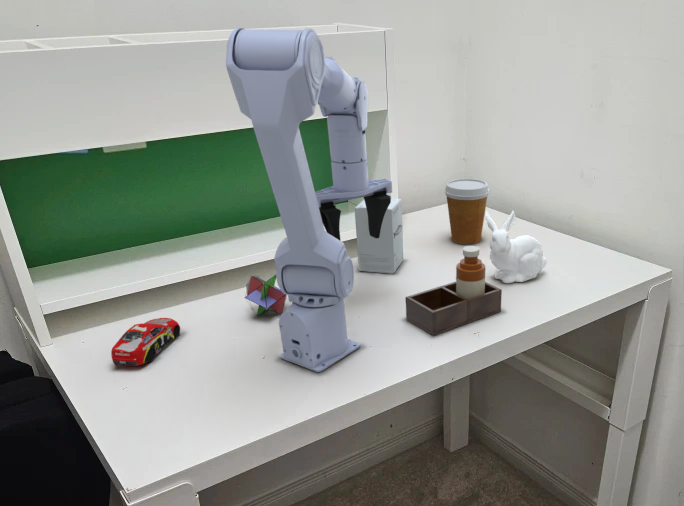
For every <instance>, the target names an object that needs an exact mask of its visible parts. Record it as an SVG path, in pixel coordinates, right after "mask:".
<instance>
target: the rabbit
mask: <svg viewBox="0 0 684 506" xmlns="http://www.w3.org/2000/svg"><path fill="white" fill-rule="evenodd" d="M515 214H516V213H515V211H514V210H512V211H511V213H510V214H509V216H508V217H507V218H506V219H505V221H504V223H503V224H502V227H501V228H500V229H499V228H498V226H497V224H496V222H495V221H494V220H493V218H492V217H491V215H490V212H489V211H485V215H484V219H485V221H486V223H487V224H486V225H487V228H489V229H490V230H491V237H490V240H489V249H490V252H489V259H490V262H491V264H492V265H493V266H494V267H495V268H496V269H498V270H499V271H497V272H496V273H495V275H494V279H495V280H501V282H503V283H504V284H512V283H515V282H517V283H524V282H526V281H530V280H533V279H535V278H536V277H537V275H538V274H539V273H540V272H541V271H543V270H544V269H545V267H546V265H547V260H548V259H547V258H546V257H545V256H544V252H543V247H542V245H541V242H540V241H538V240H537V239H536V238H535V237H533V236H530V235H528V234H527V235H526V234H524V235H519V236H516V237H515V238H512V239H511V238H509V230H511V229H512V228H513V227H514V226H515V225H516V222H517V217H516V215H515Z"/></svg>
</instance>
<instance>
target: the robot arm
mask: <svg viewBox="0 0 684 506" xmlns="http://www.w3.org/2000/svg"><path fill="white" fill-rule="evenodd" d="M225 67H226V71H227V74H228V77H229V80H230V81H229V82H230V84H231V86H232V90H233V93H234V96H235V100H236V101H237V105H238V107H239V111H240V113H241V114H243V115H244V116H246V117H247V118H248V119H250V120H251V124H252V127H253V131H254V135H255V137H256V140H257V144H258V147H259V150H260V154H261V157H262V160H263V163H264V166H265V167H264V168H265V170H266V174H267V176H268V179H269V182H270V186H271V189H272V194H273V196H274V199H275V202H276V205H277V209H278V212H279V215H280V219H281V222H282V225H283V229H284V232H285V235H286V237H284V238H283V240H281V242H280V243H279V244H278V246H277V248H276V250H275V255H274V258H273V261H274V265H275V275H276V283H277V286H278V288H279V289H281V291H282V292H283V293H284V294H286V296H287V299H288V302H291V304H290V305H289V306H288V308H287V309H286V310H285V311H283V312H282V314H280V317H279V320H278V325H279V333H280V339H281V346H282V353H281V354H279V357H280V359H282V360H284V361H287V362H290V363H292V364H295V365H298V366H300V367H303V368H305V369H308V370H311V371H313V372H317V373H320V372H322V371H324V370H326V369H327V368H329V367H330V366H332V365H334V364H336V363H338V362H339V361H341V360H342V359H343V358H345V357H346V356H348V355H349V354H351V353H353V352H354V351H356V350H357V349H359V348H360V347H361V343H360V342H357V341H355V340H351V339H348V332H347V331H348V330H347V320H346V319H347V318H346V309H345V300H344V299H346V298H347V297H348V296H349V295H350V294H351V292H352V290H353V286H354V281H355V280H354V279H355V271H354V262H353V260H352V258H351V257H350V256H349V254H348V252H347V251H348V250H347V248H346V246H345V243H344V242H342V241H341V232H340V231H341V230H340V227H341V226H340V223H341V215H342V214H341V213H342V210H341V209H339V208H337V206H336V205H335V204H336V203H341V202H345V201H351V200H355V199H359V198H363V200H365V204H366V209H367V214H368V226H369V233H370V236H372V237H374V238H376V239H377V238H379V236H380V231H381V226H382V222H383V218H384V215H385V213H386V210H387V208H388V206H389V204H390V203H391V198H392V197H391V195H389V194H391V193H393V182H392V180H390V179H387V178H382V179H381V178H380V179H371V180H369V167H368V152H367V137H366V128H368V112H369V111H368V110H369V91H368V86H367V83H366V82H365V81H364V80H361V77H357V76H356V77H355V76H353V77H351V76H350V75H349V73H347V71H345V69H344V68H343V67H341V65H339V63H337V62H336V59H335V58H334V57H333V56H328V55H327V56H326V55H325V50H324V46H323V43H322V40H321V38H320V36H319V35H318V33H317V32H316V31H315V29H313V28H304V29H250V28H249V29H247V28H244V27H235V28H234V29H233V30H232V31H231V33H230V35H229V37H228V39H227V43H226V57H225ZM317 105H318V106H319V110H320V113H321V115H322V117H323V118H326V123H327V133H328V143H329V155H330V156H329V157H330V166H331V176H332V177H331V178H332V185H331V186H329V187H326V188H322V189H320V190H317V191H315V187H314V182H313V179H312V176H311V171H310V167H309V163H308V160H307V158H308V157H307V155H306V151H305V147H304V143H303V138H302V135H301V131H300V124H301V123H302V122H304V121H305V120H307V119H309V118H310V117H312V116H313V115H314V114H315V111H316V108H317Z"/></svg>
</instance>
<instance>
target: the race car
mask: <svg viewBox="0 0 684 506" xmlns="http://www.w3.org/2000/svg"><path fill="white" fill-rule="evenodd" d="M180 334H181V325H180V324H179V323H178V321H176V320H175V319H173V318H171V317H159V318H153V319H149V320H147V321H146V322H144V323H143V322H142V323H137V324H133V325H132V326H131V327H130V328H128V329H127V330H126V331H125V332H124V333H123V334H122V335H121V337H120V338H119V339H118V340H117V341H116V343H115V344H114V345H113V346H112V348H111V350H110V351H111V352H110V354H111V355H110V356H111V360H112V363H113V364H114V365H115V366H128V367H129V366H130V367H134V366H136V367H137V366H141V365H144V364H147V363H151V362H153V361H154V359H155V356H157V354H159V352H161V351H162V350H163V349H164V348H165V347H166V346H168V345H169V344H170V343H171V342H172V341H173V340H174V339H175V338H179V336H180Z"/></svg>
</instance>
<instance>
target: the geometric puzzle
mask: <svg viewBox="0 0 684 506" xmlns="http://www.w3.org/2000/svg"><path fill="white" fill-rule="evenodd" d="M270 275H273V276H272V277H270V278H269V279H267V280H264V279H263V278H261V277H259V276H260V275H250V278H249V279H248V280H247V283H246V284H245V287H246V288H245V289H246V294H245V296H244V298H243V299H245V300H247V301H249V302H247V303H248V305H250V307H251V309H252V311H253V313H255V309H254V308H253V305H252V303H254V304H256V305H258V307H257V312H256V315H255V317H256V318H257V317H259V316H260V315H261V314H262V313H264V312H266V311H267V310H268V311H270V312H273V313H274V312H275V316H277V315H282V314H283V313H284V308H285V304H286V300H287V298H288V295H286V294H284V293H283V292H282V291H281V289H280V288H279V287H277V286H276V282H277V278H276V274H270ZM251 302H252V303H251ZM249 303H250V304H249ZM265 316H266V317H267V315H265V314H264V315H263V317H265Z"/></svg>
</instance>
